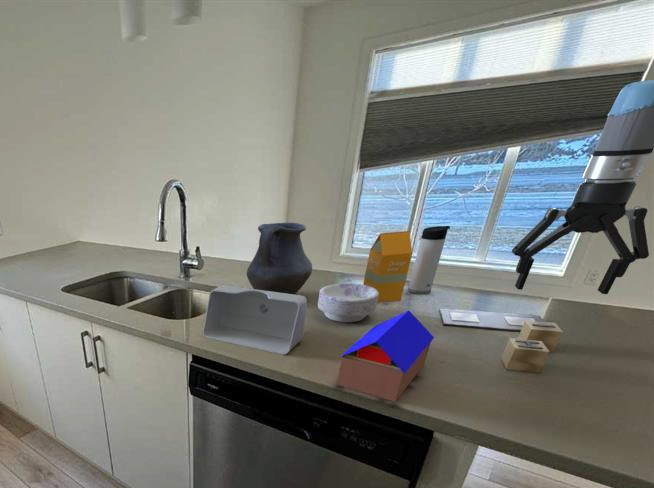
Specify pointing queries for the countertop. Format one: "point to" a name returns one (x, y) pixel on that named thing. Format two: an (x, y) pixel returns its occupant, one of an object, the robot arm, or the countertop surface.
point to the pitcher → (280, 259)
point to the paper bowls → (347, 301)
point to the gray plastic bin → (255, 318)
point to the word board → (486, 319)
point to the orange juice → (389, 265)
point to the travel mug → (427, 259)
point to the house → (386, 357)
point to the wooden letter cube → (524, 355)
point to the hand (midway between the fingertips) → (558, 290)
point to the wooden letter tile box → (542, 333)
